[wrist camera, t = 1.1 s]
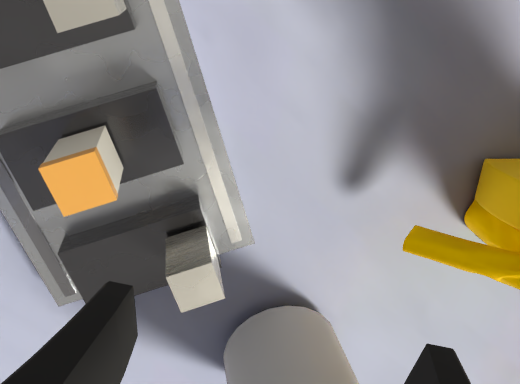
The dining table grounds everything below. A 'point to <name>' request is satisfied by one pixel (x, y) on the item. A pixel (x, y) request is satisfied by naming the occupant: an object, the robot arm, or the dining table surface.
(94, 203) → the handle
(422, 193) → the dining table surface
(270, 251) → the dining table surface
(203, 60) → the dining table surface
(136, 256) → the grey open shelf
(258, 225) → the dining table surface
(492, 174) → the figure statuette
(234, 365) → the can
